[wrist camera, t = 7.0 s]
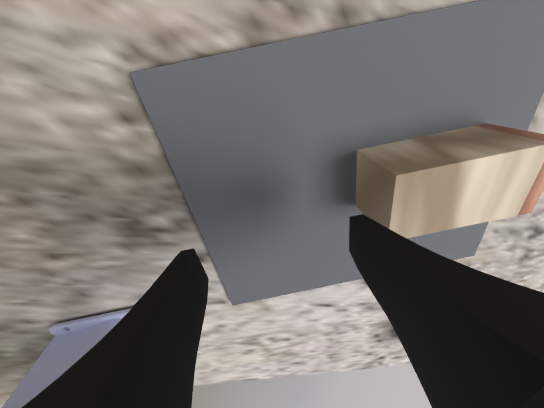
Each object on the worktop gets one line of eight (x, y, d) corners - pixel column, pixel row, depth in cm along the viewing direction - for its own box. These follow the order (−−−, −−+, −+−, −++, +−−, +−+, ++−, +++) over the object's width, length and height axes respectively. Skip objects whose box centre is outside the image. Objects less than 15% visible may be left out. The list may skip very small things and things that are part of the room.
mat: (232, 300, 20) (232, 305, 19) (134, 72, 11) (129, 72, 10) (469, 251, 20) (474, 255, 19) (577, -19, 11) (592, -23, 10)
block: (387, 242, 12) (531, 212, 12) (396, 175, 10) (570, 139, 10) (355, 205, 15) (467, 181, 15) (357, 149, 13) (486, 123, 13)
